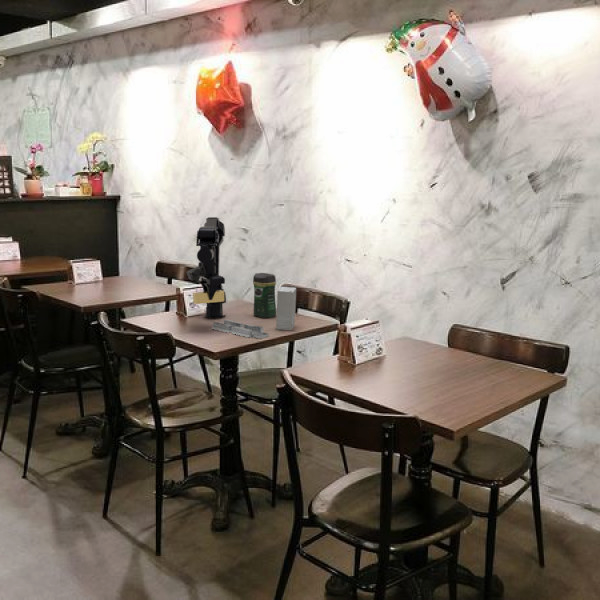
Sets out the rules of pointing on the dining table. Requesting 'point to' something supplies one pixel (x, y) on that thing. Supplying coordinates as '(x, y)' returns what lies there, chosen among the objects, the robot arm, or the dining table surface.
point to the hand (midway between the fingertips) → (208, 299)
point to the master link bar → (204, 298)
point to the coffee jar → (264, 295)
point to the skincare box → (286, 308)
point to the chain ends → (240, 329)
